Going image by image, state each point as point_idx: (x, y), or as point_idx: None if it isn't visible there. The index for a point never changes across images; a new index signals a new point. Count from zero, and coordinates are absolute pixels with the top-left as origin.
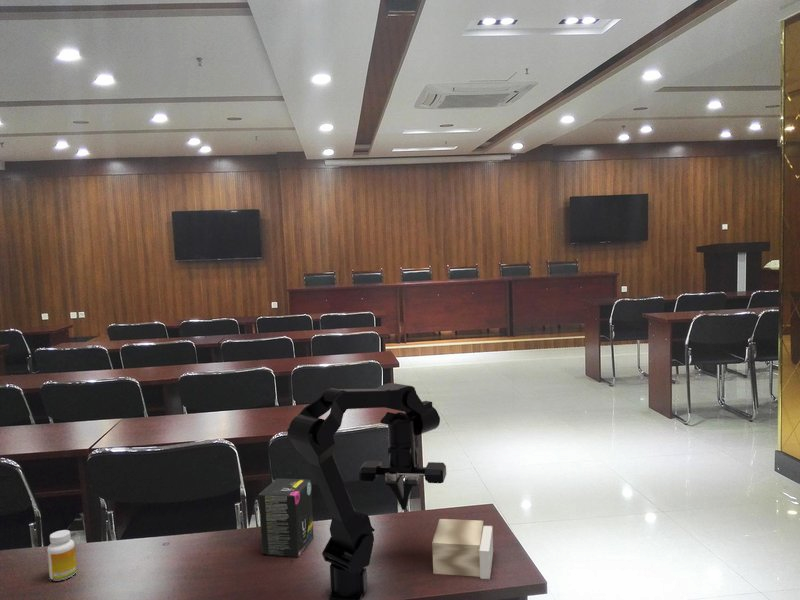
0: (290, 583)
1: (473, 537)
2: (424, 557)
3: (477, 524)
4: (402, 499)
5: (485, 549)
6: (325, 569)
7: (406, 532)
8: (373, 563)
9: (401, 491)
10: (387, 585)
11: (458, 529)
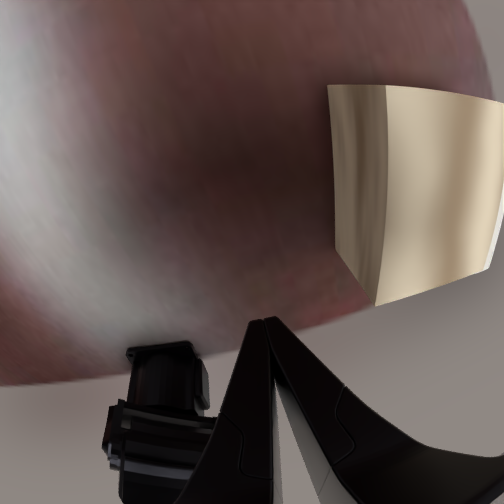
0: (54, 360)
1: (482, 233)
2: (290, 167)
3: (499, 135)
4: (276, 415)
5: (485, 263)
6: (61, 310)
7: (158, 8)
8: (144, 253)
9: (278, 466)
10: (235, 327)
11: (456, 185)
